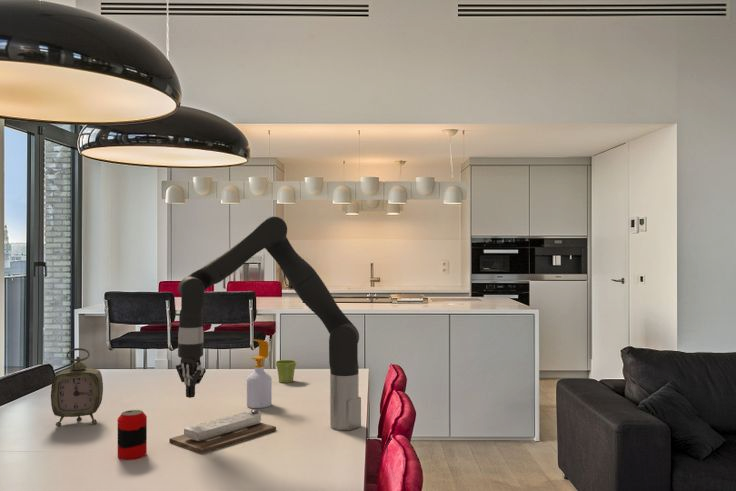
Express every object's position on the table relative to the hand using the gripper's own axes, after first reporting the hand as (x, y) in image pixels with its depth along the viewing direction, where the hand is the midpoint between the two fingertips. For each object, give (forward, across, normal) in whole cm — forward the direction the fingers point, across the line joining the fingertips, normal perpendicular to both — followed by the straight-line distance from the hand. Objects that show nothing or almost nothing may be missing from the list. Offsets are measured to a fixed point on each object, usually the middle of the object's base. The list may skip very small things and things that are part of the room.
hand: (190, 397), depth 185 cm
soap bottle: (+12, +11, -37) cm, 40 cm away
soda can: (+12, -3, +21) cm, 24 cm away
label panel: (+12, -9, -6) cm, 16 cm away
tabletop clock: (+12, +40, +16) cm, 45 cm away
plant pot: (+12, +33, -71) cm, 79 cm away
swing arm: (+10, -9, -7) cm, 15 cm away
